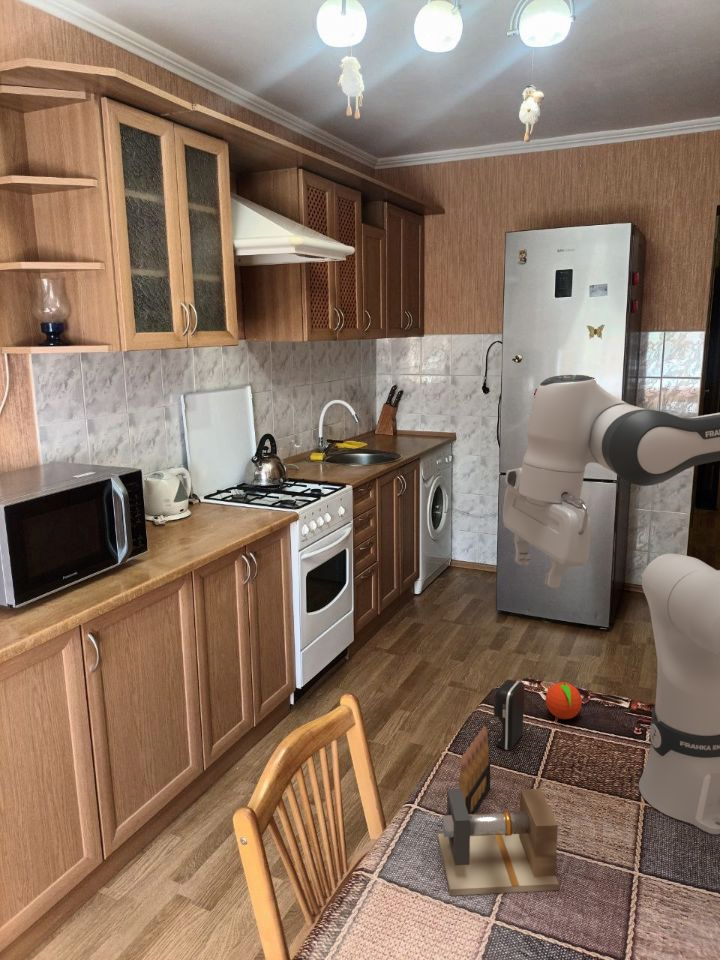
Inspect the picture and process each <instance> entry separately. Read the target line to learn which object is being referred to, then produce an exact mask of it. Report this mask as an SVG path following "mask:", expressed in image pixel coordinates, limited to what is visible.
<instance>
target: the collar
mask: <svg viewBox="0 0 720 960" xmlns="http://www.w3.org/2000/svg"><path fill="white" fill-rule="evenodd" d="M446 796H447V797H446V815H452V819H453V823H454V833H453V837H448V838H449V842H450V847H451V851H452V855H453V859H454V863H455V865H469V860H470V818H469V815H468V811H467V808H466V804H465V801H464V798H463V794H462V791H461V788H459V787H458V788H457V787H456V788H447V789H446Z"/></svg>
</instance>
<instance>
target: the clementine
mask: <svg viewBox="0 0 720 960" xmlns="http://www.w3.org/2000/svg"><path fill="white" fill-rule="evenodd" d="M545 704H546V707H547V710H549V712H550V713H551V714H552V715H553V716H555V717H556V718H557V719H561V720H568V719H569V720H570V719H572V718H575V717H576V716H577V715H578V714H579V713H580V711H581V709H582V704H583V699H582V696H581V693H580V691H579V690H578V689H577V688H576V687H575V686H574V685H572V684H571V683H568V682H565V681H562V682H557V683H554V684H553V685H552V686H551V687H549V688H548V690H547V692H546V694H545Z"/></svg>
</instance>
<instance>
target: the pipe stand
mask: <svg viewBox="0 0 720 960" xmlns="http://www.w3.org/2000/svg"><path fill="white" fill-rule="evenodd" d="M519 795H520V800H519V812H527V813H528V816H529V820H530V833H529V834H512V835H511V836H505V835H487V836H470V860H469V865H455V863H454V859H453V855H452V851H451V847H450V842H449V838H448V837H444V833H437V842H438V848H439V851H440V855H441V860H442V864H443V865H442V866H443V869H444V874H445V878H446V883H447V886H448V888H447V889H448V892H449V896H450V897H451V896H468V895H469V896H470V895H472V896H473V895H486V894H487V895H489V894H491V895H492V894H508V893H509V894H510V893H526V892H527V893H528V892H545V891H547V892H548V891H549V892H550V891H559V889H560V883H559V881H558V879H557V876H556V875H557V874H556V872H557V871H556V870H557V850H558V830H559V829H558V828H559V824H558V823H557V820H556V818H555V816H554V814H553V812H552V810H551V807H550V805H549V803H548V801H547V799H546V797H545V794H544V792H543V791H542V788H525V789H524V788H521V789H520V794H519Z"/></svg>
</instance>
